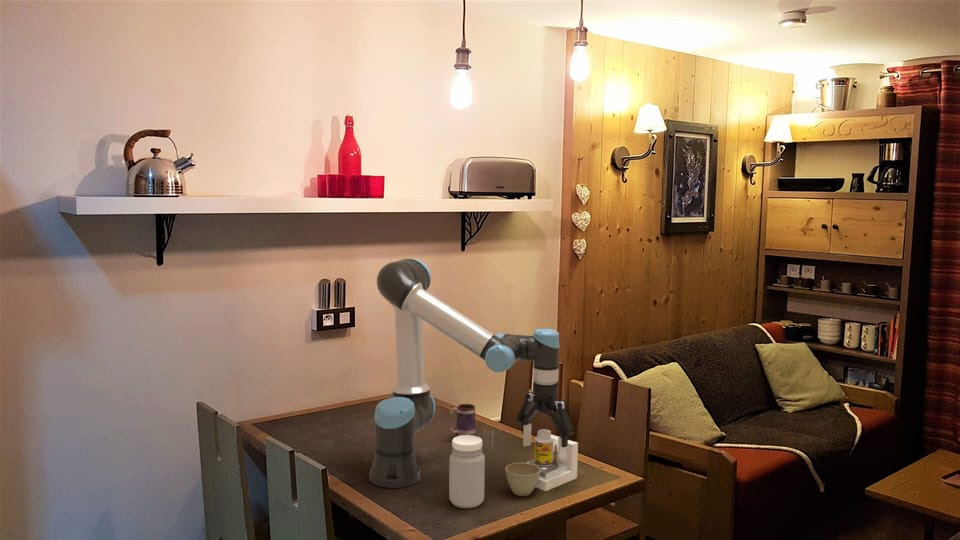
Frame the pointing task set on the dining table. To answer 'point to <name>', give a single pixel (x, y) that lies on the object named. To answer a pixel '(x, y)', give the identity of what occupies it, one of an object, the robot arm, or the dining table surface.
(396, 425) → the robot arm
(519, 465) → the flower pot
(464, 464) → the jar
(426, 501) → the dining table surface
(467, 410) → the mug
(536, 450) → the supplement bottle
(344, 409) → the dining table surface
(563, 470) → the pan
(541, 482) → the scale base
